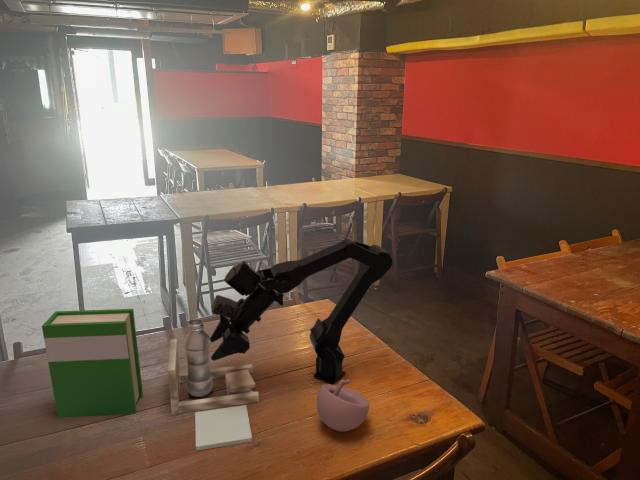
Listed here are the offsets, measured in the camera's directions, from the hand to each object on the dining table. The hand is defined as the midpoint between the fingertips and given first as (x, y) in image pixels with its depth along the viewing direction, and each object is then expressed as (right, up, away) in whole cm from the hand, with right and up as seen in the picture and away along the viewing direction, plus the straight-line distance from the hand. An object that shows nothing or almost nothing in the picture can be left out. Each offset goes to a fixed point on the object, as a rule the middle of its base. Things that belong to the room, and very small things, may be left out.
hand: (211, 350), depth 122 cm
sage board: (+5, -16, -10) cm, 19 cm away
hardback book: (-26, -13, -3) cm, 29 cm away
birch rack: (0, -11, +4) cm, 12 cm away
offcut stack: (+6, -11, +5) cm, 14 cm away
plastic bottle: (-3, -12, +3) cm, 13 cm away
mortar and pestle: (+32, -16, -9) cm, 37 cm away
